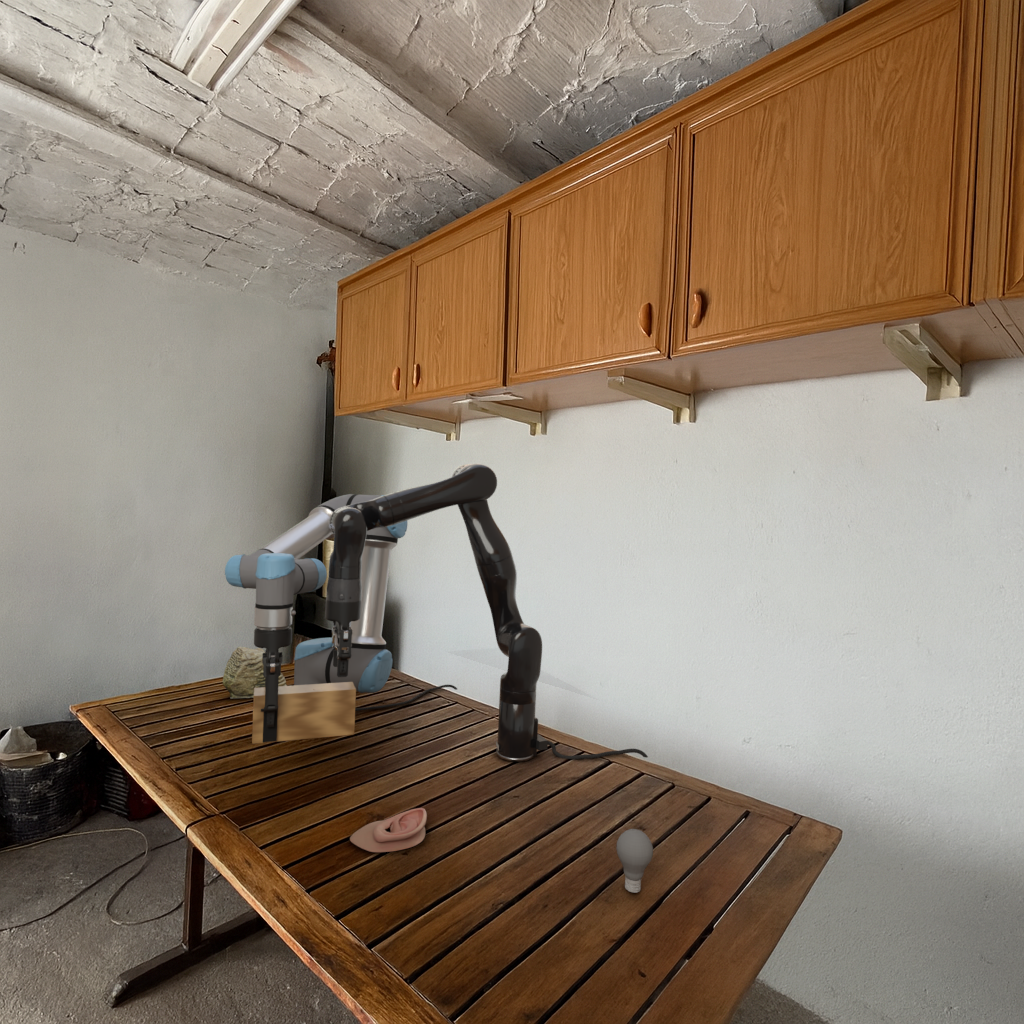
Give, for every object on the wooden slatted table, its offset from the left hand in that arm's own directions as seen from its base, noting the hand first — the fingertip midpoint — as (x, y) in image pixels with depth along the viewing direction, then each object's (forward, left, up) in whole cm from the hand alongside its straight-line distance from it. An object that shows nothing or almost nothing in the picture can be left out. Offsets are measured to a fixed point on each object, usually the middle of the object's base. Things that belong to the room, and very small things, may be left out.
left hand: (269, 735), depth 134 cm
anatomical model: (-6, +32, -12) cm, 35 cm away
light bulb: (-22, +75, -12) cm, 79 cm away
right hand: (-12, +7, +13) cm, 19 cm away
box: (-6, +4, 0) cm, 7 cm away
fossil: (-32, -62, -12) cm, 71 cm away
